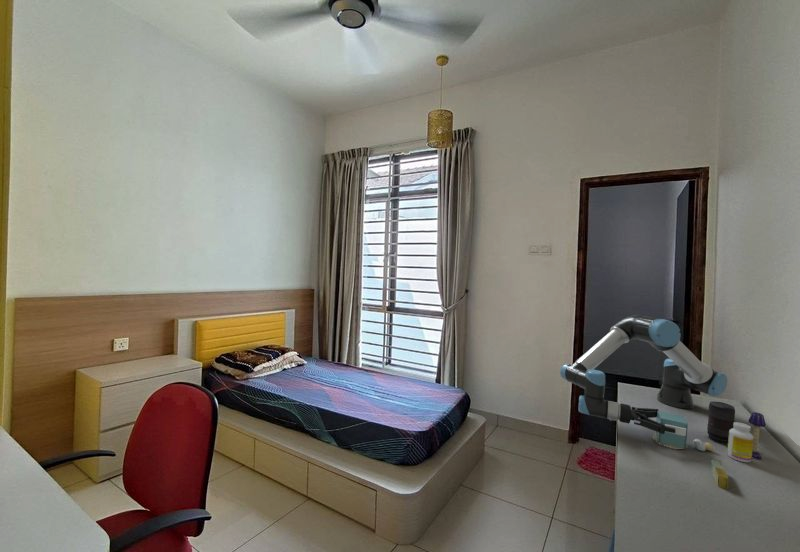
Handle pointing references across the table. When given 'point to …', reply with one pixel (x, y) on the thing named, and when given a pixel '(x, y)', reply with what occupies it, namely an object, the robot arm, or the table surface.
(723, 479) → the medication box
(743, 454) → the supplement bottle
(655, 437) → the coaster
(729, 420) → the camera lens
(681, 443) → the teal cube
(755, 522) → the table surface
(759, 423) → the toy lamp
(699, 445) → the marble
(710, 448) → the marble
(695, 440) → the marble
